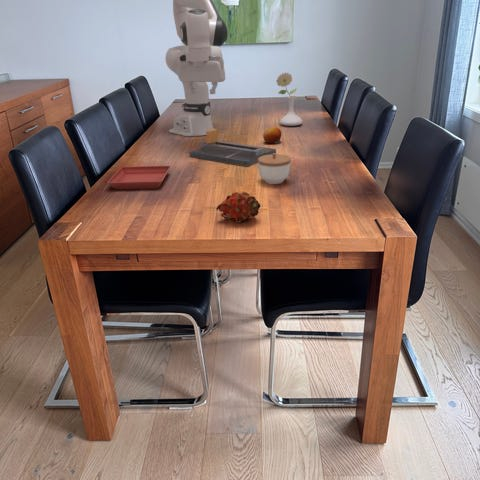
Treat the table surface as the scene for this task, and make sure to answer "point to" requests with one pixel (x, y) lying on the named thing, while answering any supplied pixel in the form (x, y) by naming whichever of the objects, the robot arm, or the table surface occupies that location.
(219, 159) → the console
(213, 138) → the block
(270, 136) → the fruit
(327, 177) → the table surface
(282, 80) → the flower in vase
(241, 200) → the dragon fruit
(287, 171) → the lidded jar
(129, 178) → the plant saucer
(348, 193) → the table surface
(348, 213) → the table surface
